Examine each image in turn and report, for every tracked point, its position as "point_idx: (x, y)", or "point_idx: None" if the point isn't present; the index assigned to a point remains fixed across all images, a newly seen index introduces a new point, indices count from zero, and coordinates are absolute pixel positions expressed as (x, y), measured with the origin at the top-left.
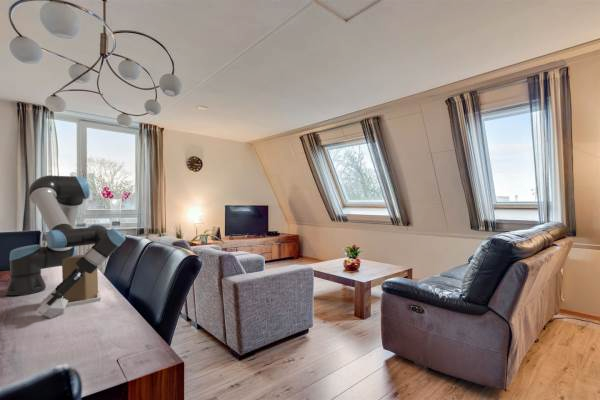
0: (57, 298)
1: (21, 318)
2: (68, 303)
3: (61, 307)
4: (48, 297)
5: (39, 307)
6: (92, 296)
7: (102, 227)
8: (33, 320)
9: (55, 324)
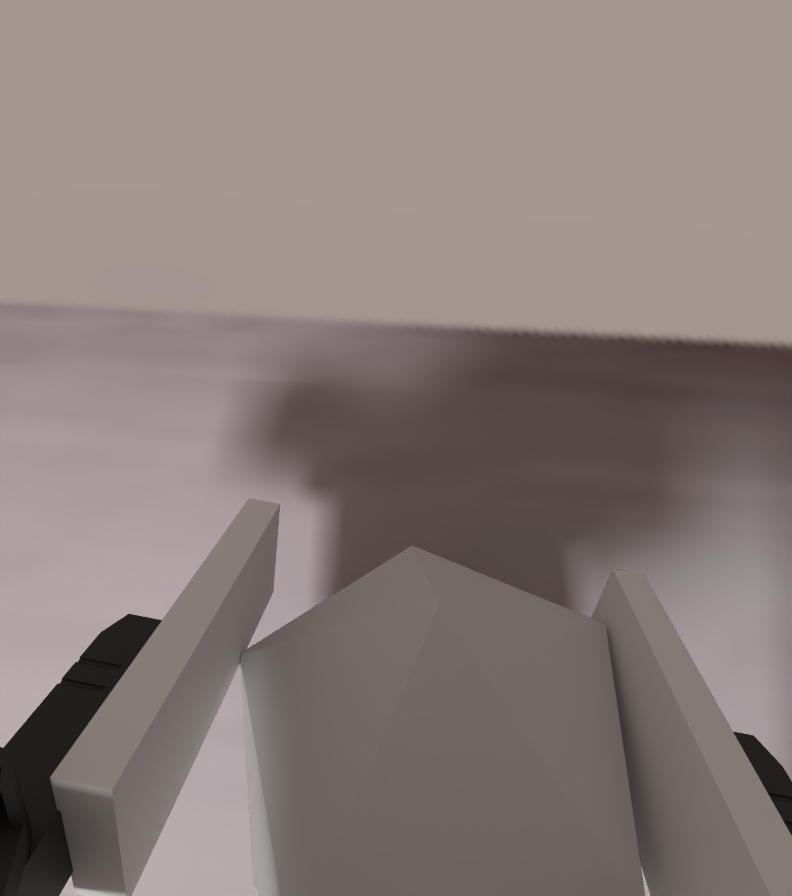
0: (75, 868)
1: (610, 439)
2: None
3: (254, 853)
4: (460, 699)
5: (233, 525)
6: None
7: None
8: (427, 517)
9: (23, 683)
